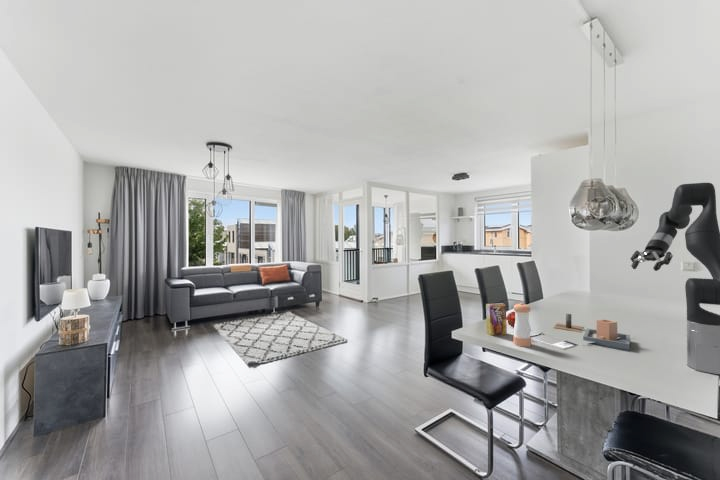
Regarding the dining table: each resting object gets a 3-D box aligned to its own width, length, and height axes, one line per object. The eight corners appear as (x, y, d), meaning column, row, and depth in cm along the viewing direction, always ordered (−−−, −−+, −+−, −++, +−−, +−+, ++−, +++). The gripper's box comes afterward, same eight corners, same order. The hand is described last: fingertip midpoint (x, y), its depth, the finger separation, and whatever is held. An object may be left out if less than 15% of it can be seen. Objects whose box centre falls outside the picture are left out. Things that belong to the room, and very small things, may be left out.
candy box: (502, 332, 158) (502, 302, 158) (507, 334, 154) (506, 304, 154) (486, 332, 158) (485, 303, 157) (490, 335, 153) (490, 305, 153)
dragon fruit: (510, 325, 175) (522, 335, 163) (499, 317, 174) (511, 326, 162) (519, 313, 174) (532, 322, 162) (508, 305, 173) (521, 314, 161)
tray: (629, 351, 130) (629, 344, 130) (583, 342, 141) (583, 336, 140) (629, 341, 142) (629, 334, 142) (587, 334, 152) (587, 328, 152)
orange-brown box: (617, 341, 139) (617, 322, 139) (607, 343, 137) (607, 323, 137) (604, 337, 145) (604, 319, 144) (594, 339, 143) (594, 320, 142)
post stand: (581, 335, 151) (581, 318, 151) (553, 330, 159) (552, 314, 159) (584, 329, 160) (584, 313, 160) (557, 325, 168) (557, 310, 168)
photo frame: (563, 347, 133) (525, 336, 149) (563, 350, 133) (525, 338, 149) (582, 342, 139) (544, 331, 156) (582, 345, 139) (544, 334, 156)
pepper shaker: (521, 347, 136) (521, 304, 136) (509, 342, 143) (509, 301, 143) (535, 345, 138) (534, 303, 138) (522, 340, 145) (522, 300, 145)
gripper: (638, 238, 153) (623, 262, 150) (674, 238, 140) (659, 264, 136) (645, 249, 155) (630, 272, 151) (682, 249, 141) (666, 275, 138)
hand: (643, 268), depth 144 cm, fingers open, 8 cm apart
